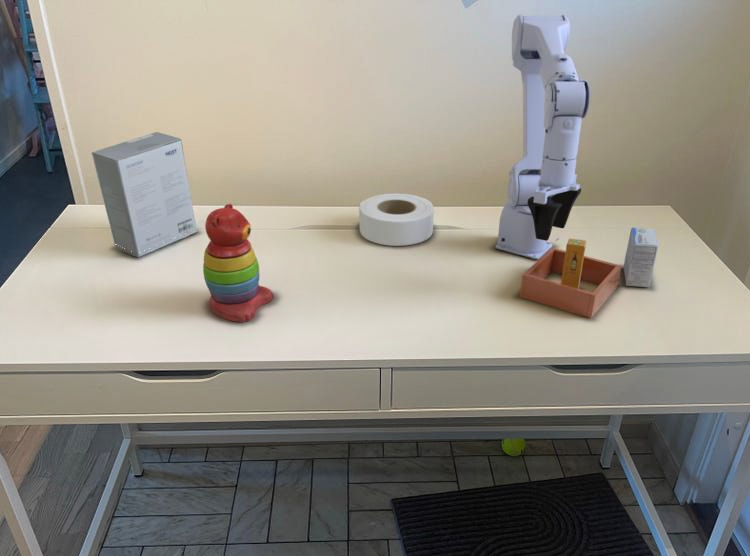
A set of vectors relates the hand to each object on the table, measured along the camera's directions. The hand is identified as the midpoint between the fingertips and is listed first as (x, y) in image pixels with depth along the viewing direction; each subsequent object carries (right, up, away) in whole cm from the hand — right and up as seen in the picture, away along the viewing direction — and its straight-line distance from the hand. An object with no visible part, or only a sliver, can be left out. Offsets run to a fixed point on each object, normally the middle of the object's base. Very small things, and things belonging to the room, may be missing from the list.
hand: (550, 233), depth 128 cm
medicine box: (+18, -7, +9) cm, 21 cm away
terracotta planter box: (+4, -10, +4) cm, 12 cm away
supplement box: (+4, -10, +4) cm, 12 cm away
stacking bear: (-56, -13, -1) cm, 57 cm away
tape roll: (-28, +5, +25) cm, 38 cm away
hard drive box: (-77, +2, +20) cm, 80 cm away
